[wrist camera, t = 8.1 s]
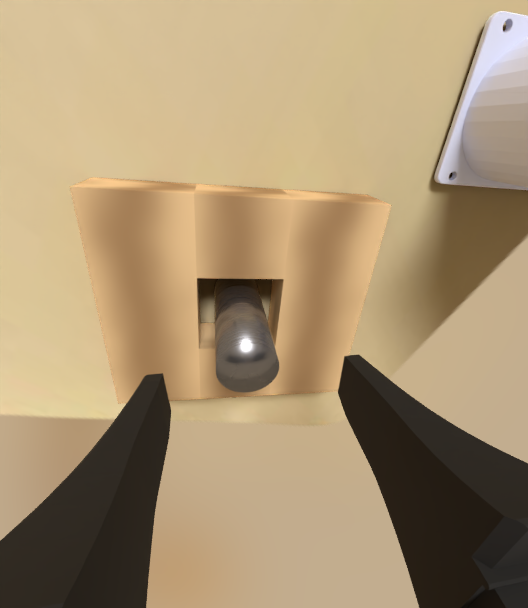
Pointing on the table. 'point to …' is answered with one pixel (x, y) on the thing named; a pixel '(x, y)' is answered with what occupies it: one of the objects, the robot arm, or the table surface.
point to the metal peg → (242, 337)
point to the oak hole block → (225, 276)
